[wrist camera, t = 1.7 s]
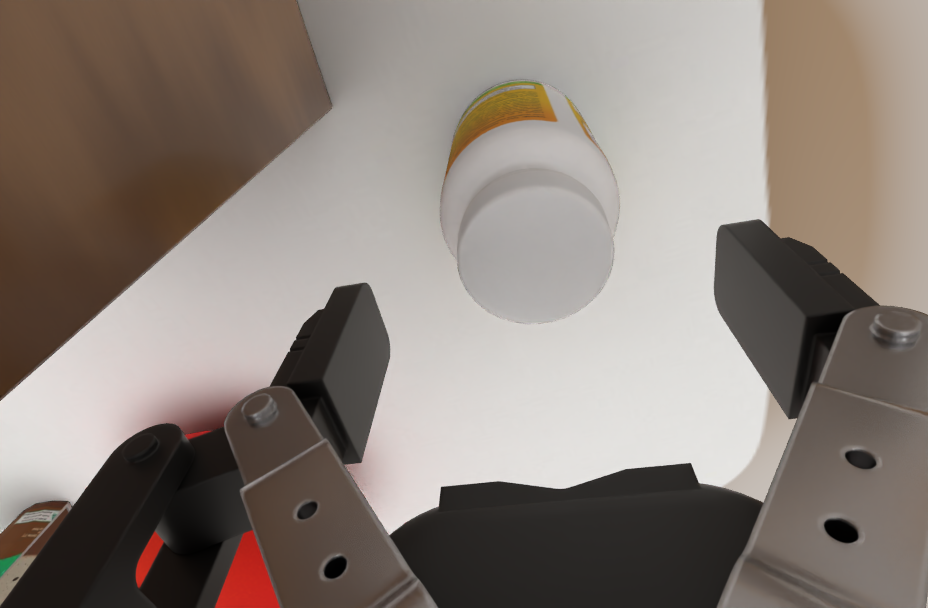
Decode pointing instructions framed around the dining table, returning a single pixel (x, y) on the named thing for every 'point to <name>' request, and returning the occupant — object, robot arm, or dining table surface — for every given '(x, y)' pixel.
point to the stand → (129, 143)
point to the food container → (27, 540)
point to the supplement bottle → (529, 204)
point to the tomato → (247, 584)
